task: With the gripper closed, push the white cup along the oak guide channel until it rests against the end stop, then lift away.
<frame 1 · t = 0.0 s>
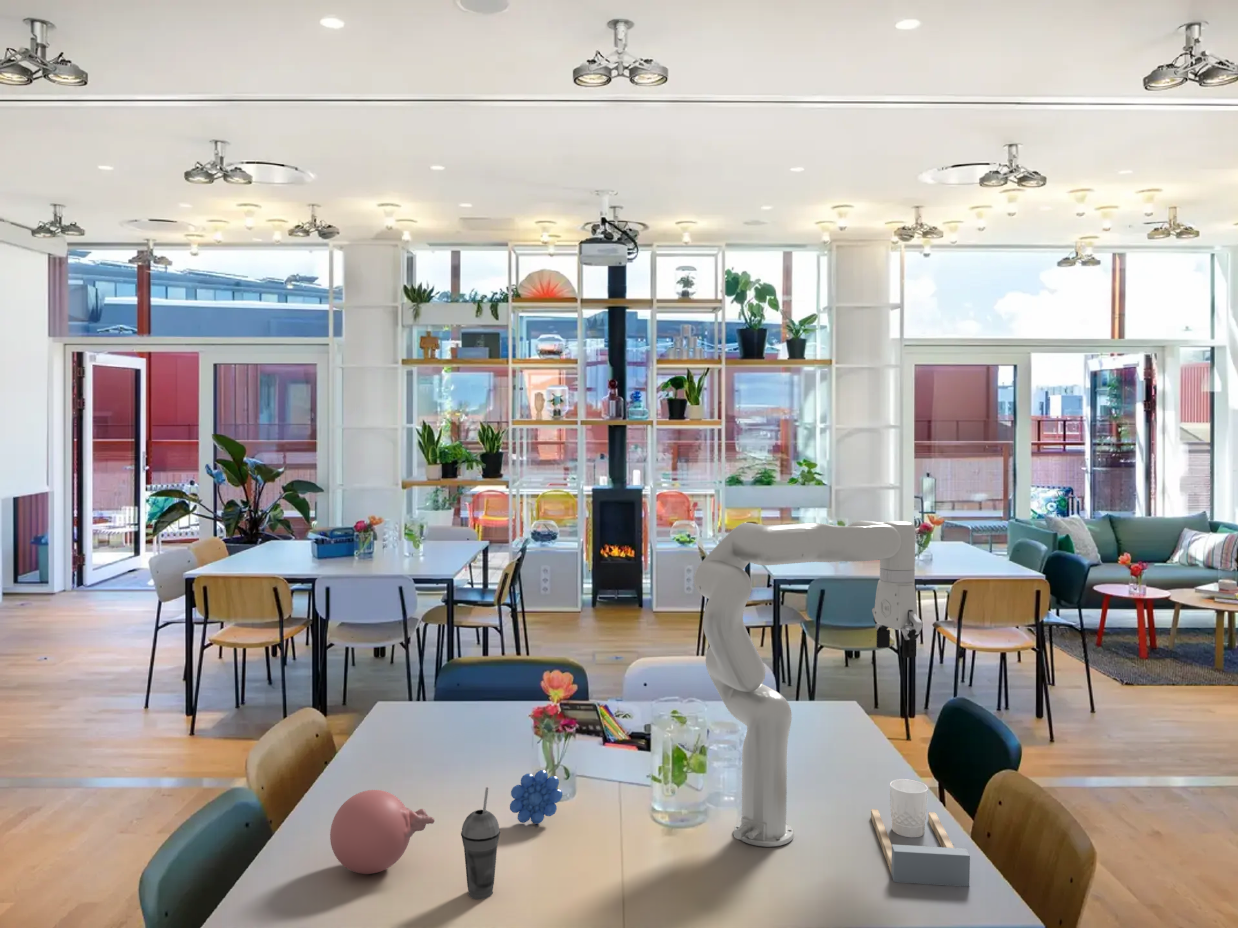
hand: (895, 652, 209), 37 cm above the table, tool pointing down, fingers open, 9 cm apart
balloon: (383, 870, 183), on the table
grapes: (536, 822, 206), on the table
beverage cup: (480, 894, 174), on the table
guide channel: (915, 847, 194), on the table
white cup: (907, 831, 202), on the table
end stop: (929, 880, 180), on the table
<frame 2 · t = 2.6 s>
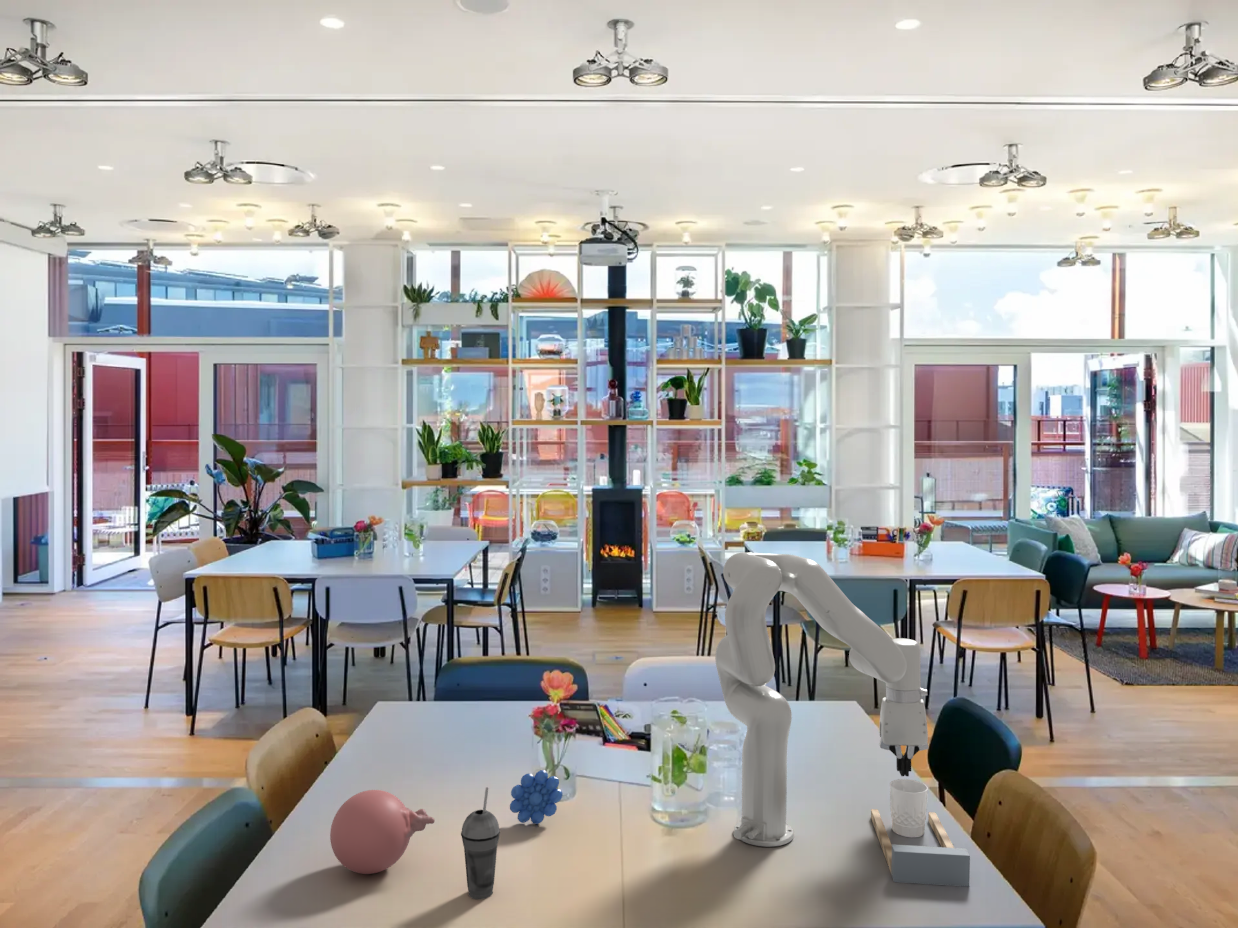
hand: (903, 773, 211), 9 cm above the table, tool pointing down, fingers closed
nothing on the table moved.
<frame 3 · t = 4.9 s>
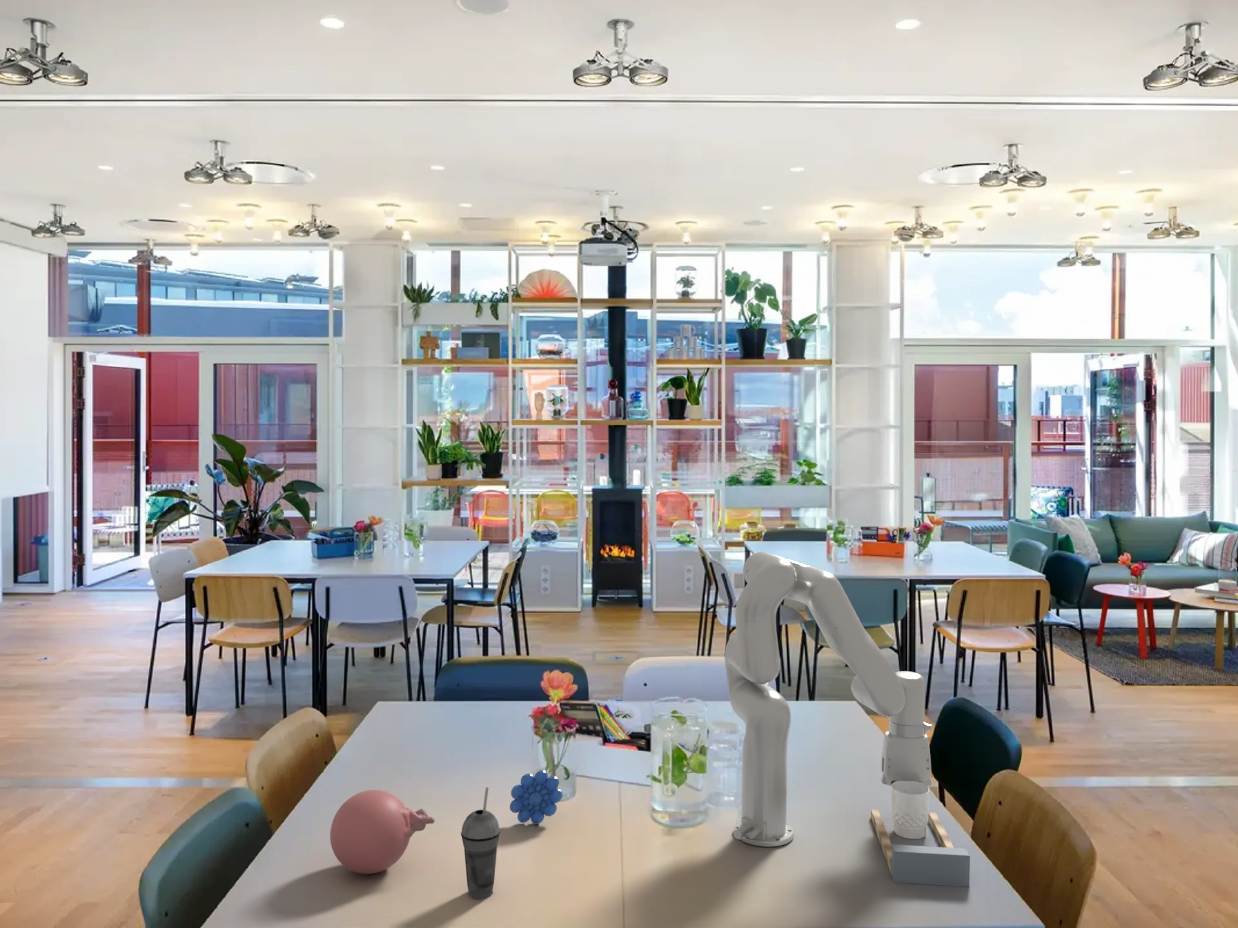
hand: (905, 810, 206), 3 cm above the table, tool pointing down, fingers closed
white cup: (909, 833, 201), on the table, touching gripper
everything else where it was.
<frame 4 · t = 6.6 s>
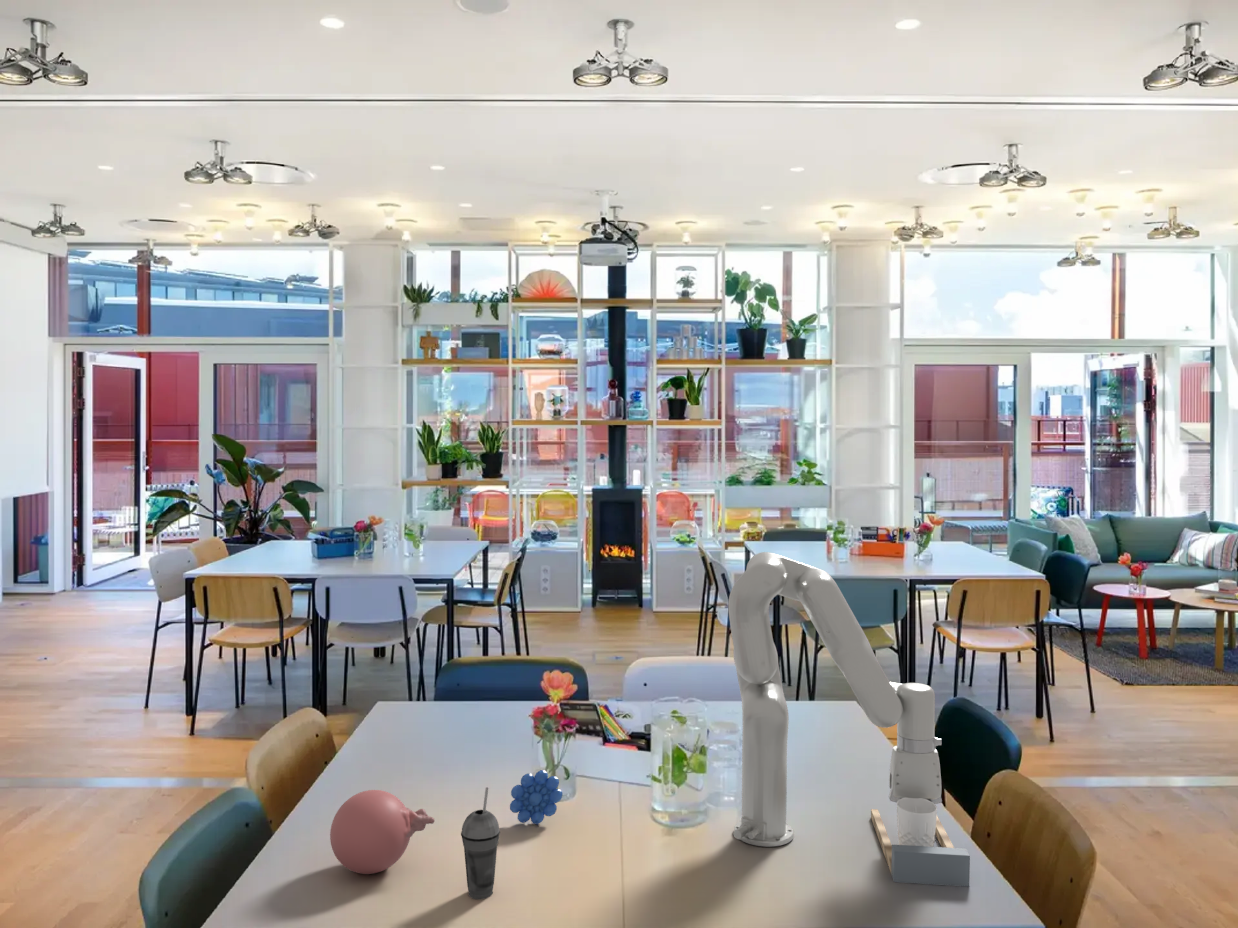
hand: (914, 828, 196), 3 cm above the table, tool pointing down, fingers closed
white cup: (915, 852, 192), on the table, touching gripper
everything else where it was.
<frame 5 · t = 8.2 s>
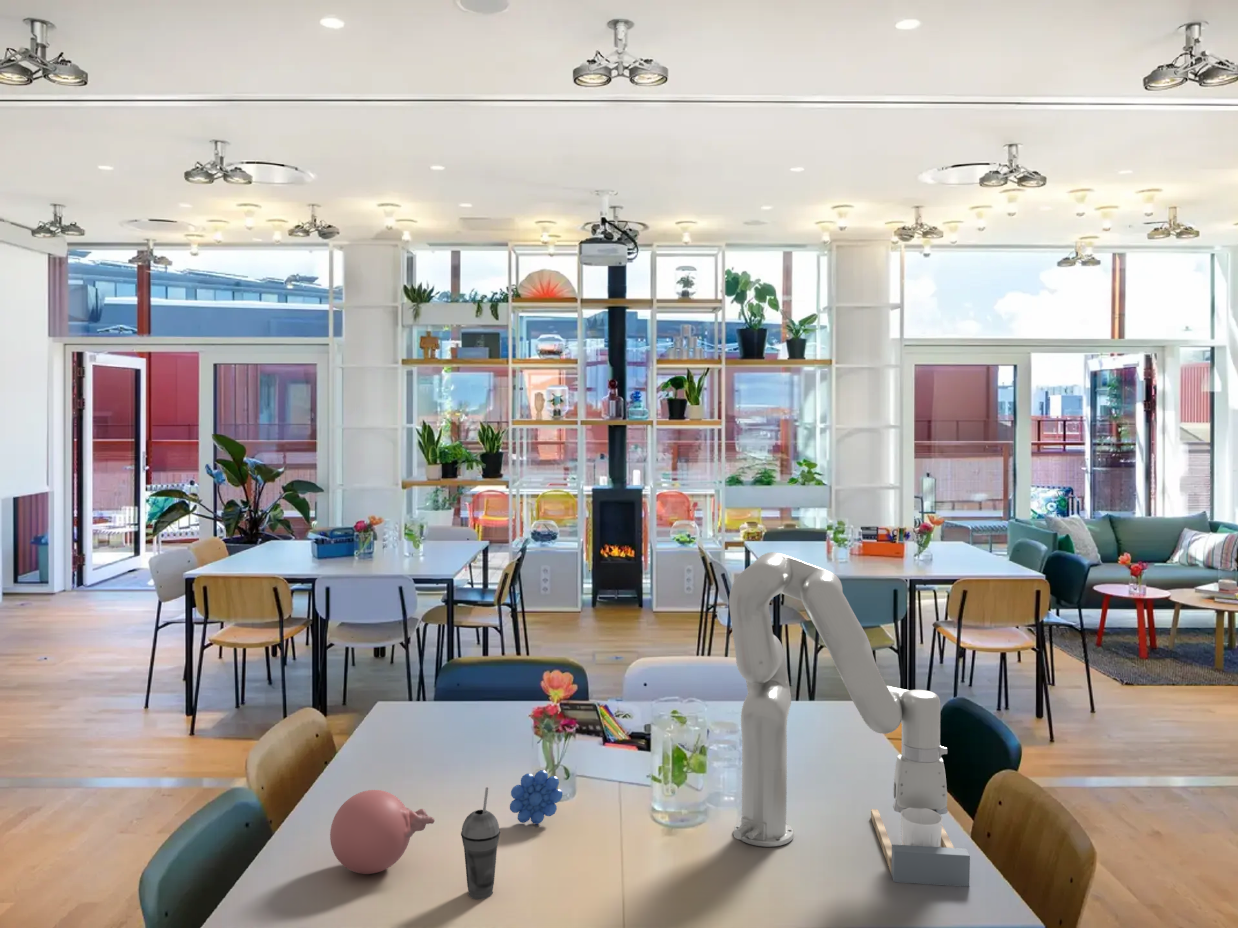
hand: (919, 839, 191), 3 cm above the table, tool pointing down, fingers closed
white cup: (920, 864, 186), on the table, touching gripper
everything else where it was.
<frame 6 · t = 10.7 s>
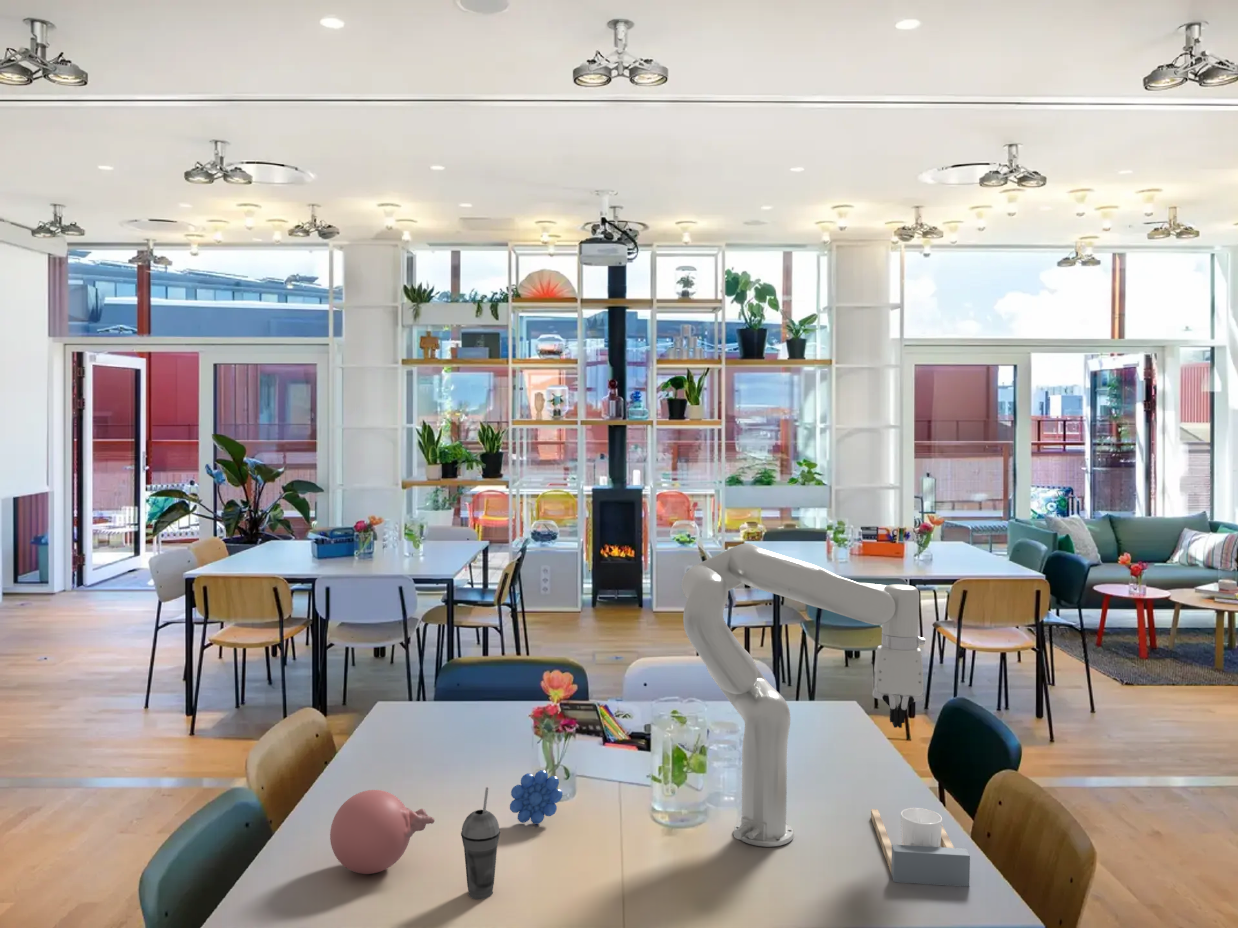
hand: (897, 725, 202), 23 cm above the table, tool pointing down, fingers closed
white cup: (920, 865, 186), on the table
everything else where it was.
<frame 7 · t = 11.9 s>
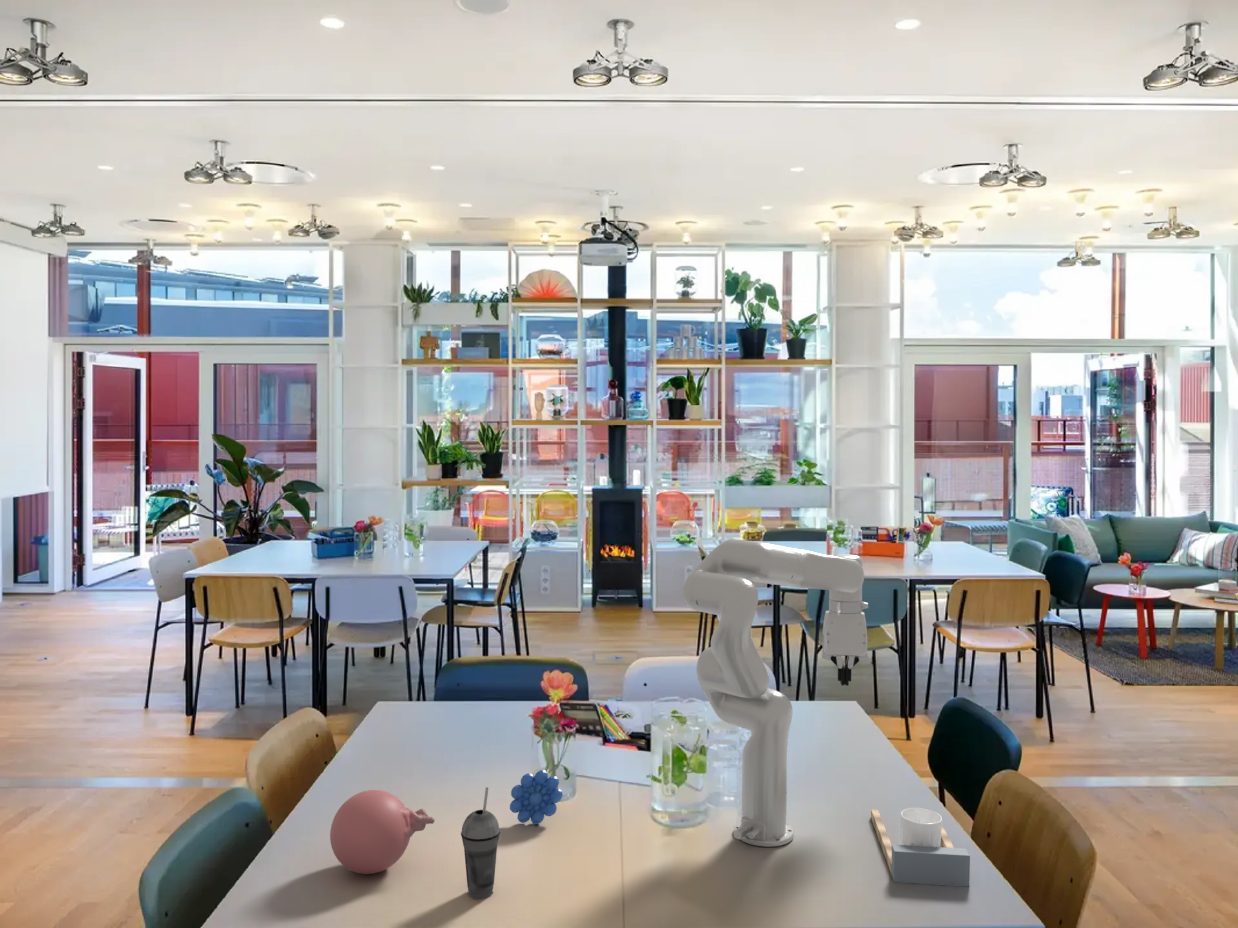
hand: (844, 683, 220), 27 cm above the table, tool pointing down, fingers closed
nothing on the table moved.
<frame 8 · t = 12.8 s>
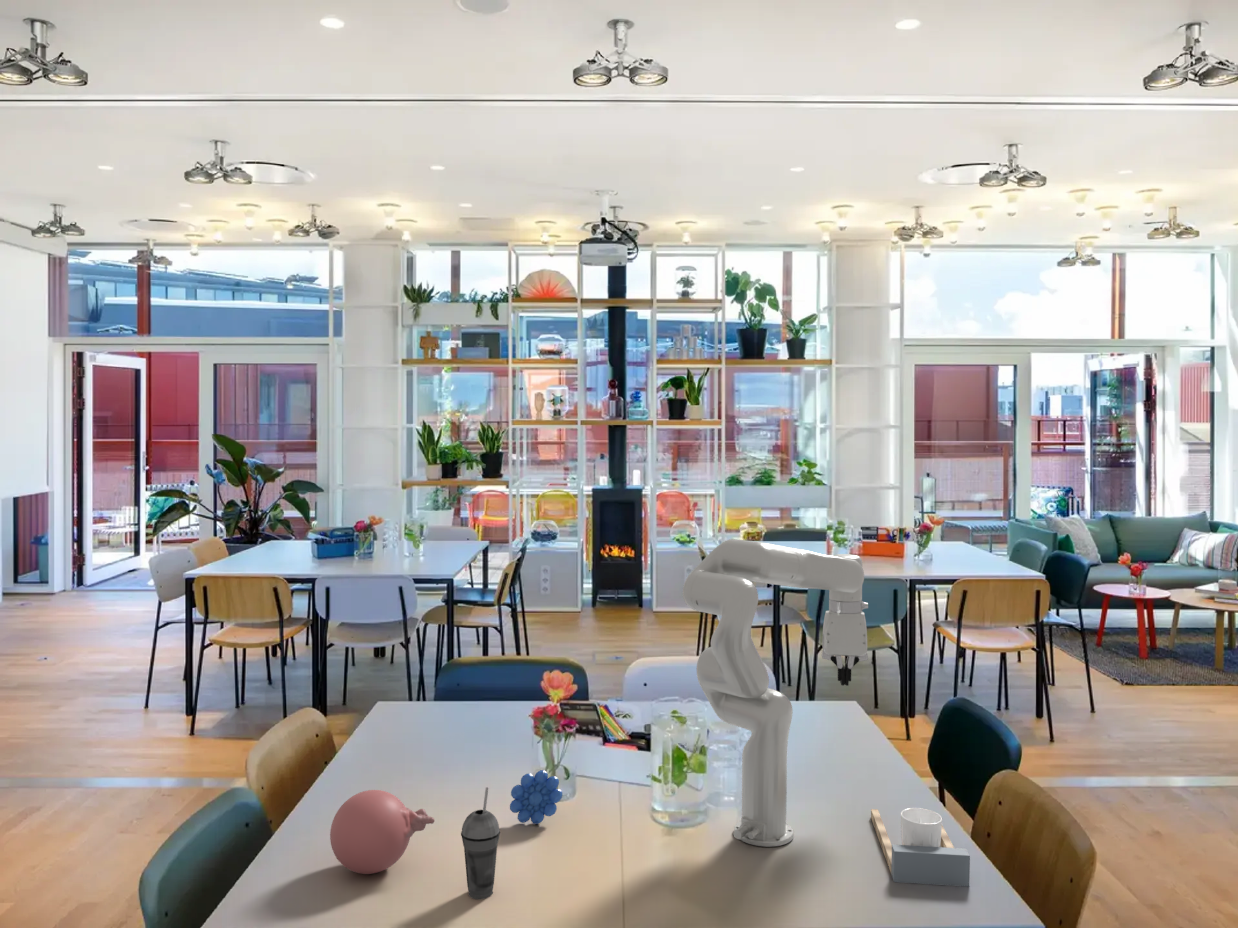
hand: (844, 683, 220), 27 cm above the table, tool pointing down, fingers closed
nothing on the table moved.
at the end: white cup 6.6 cm from the end stop (horizontally); white cup tilted 0°; white cup moved 15.9 cm from its start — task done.
